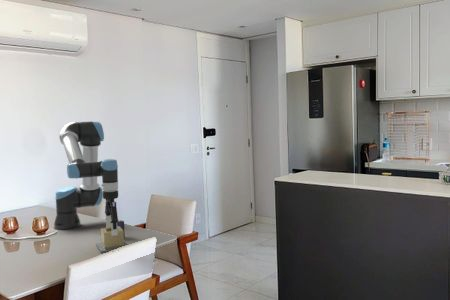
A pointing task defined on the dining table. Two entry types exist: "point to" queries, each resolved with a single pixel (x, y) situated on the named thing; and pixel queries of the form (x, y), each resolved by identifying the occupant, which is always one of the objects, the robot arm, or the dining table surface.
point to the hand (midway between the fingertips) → (111, 231)
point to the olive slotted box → (112, 238)
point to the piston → (106, 249)
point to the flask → (121, 224)
